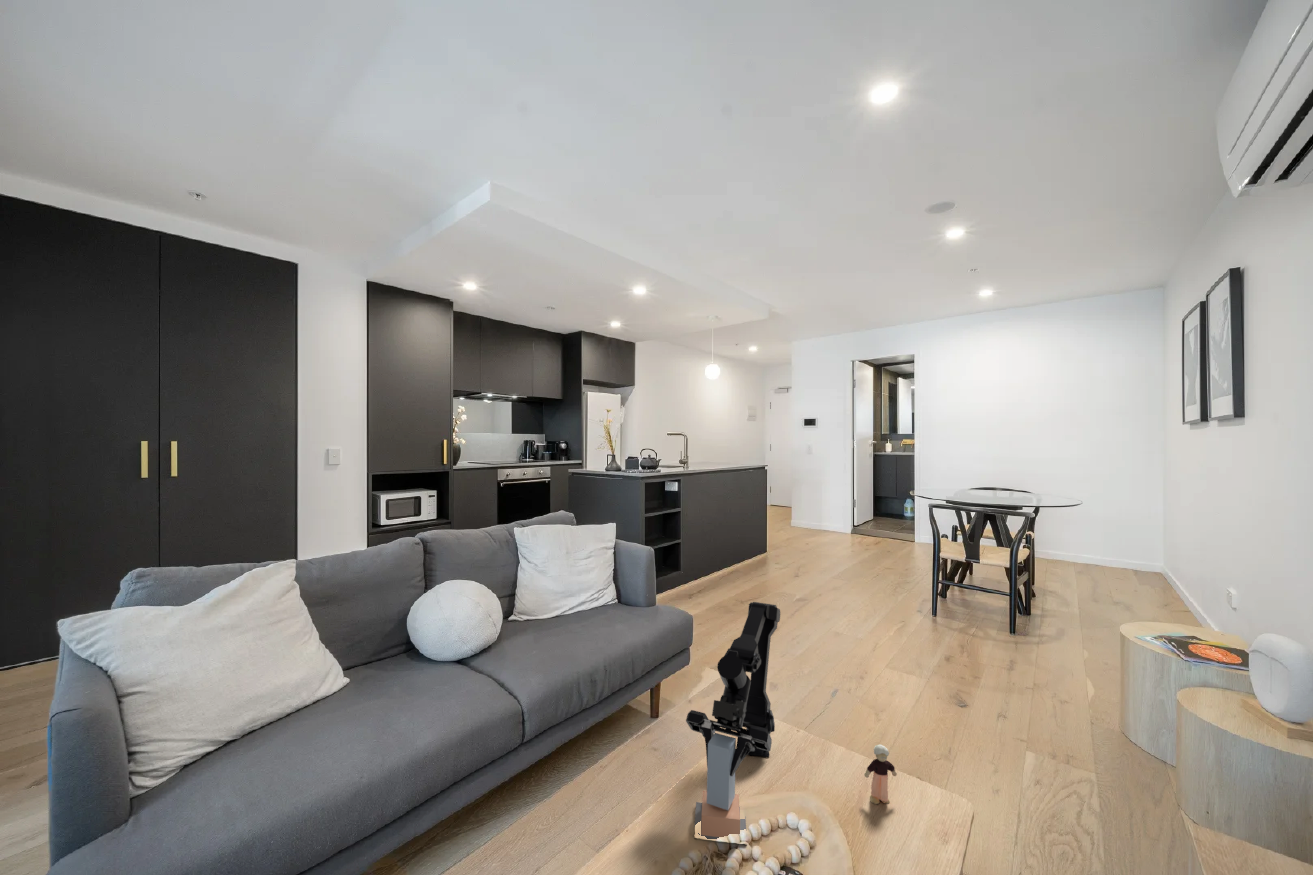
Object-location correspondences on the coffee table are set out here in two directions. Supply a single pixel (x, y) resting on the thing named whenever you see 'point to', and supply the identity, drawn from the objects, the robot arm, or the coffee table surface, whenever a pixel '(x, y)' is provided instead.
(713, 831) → the tower base
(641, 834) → the coffee table surface
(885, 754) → the grandmother figurine
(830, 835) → the coffee table surface
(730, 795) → the slate column brick
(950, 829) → the coffee table surface
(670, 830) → the coffee table surface
